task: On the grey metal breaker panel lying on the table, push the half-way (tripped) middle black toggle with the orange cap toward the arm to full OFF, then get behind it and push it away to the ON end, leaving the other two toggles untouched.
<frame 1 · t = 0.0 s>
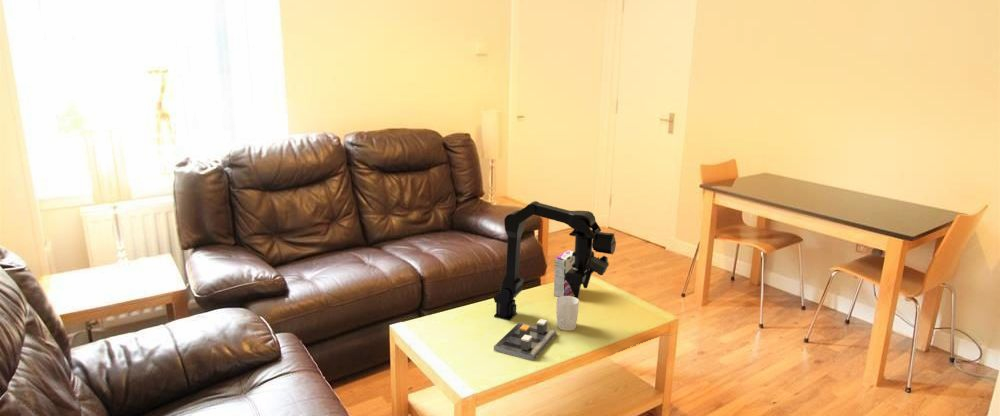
hand: (581, 292, 206), 15 cm above the table, fingers open, 9 cm apart
panel: (525, 342, 202), on the table
white cup: (566, 327, 214), on the table
breaker 1: (526, 342, 194), point 4 cm above the table, slide at 6.5 cm
candy bar box: (564, 293, 243), on the table
breaker 2: (524, 331, 201), point 4 cm above the table, slide at 3.0 cm
breaker 3: (541, 326, 205), point 4 cm above the table, slide at 6.5 cm
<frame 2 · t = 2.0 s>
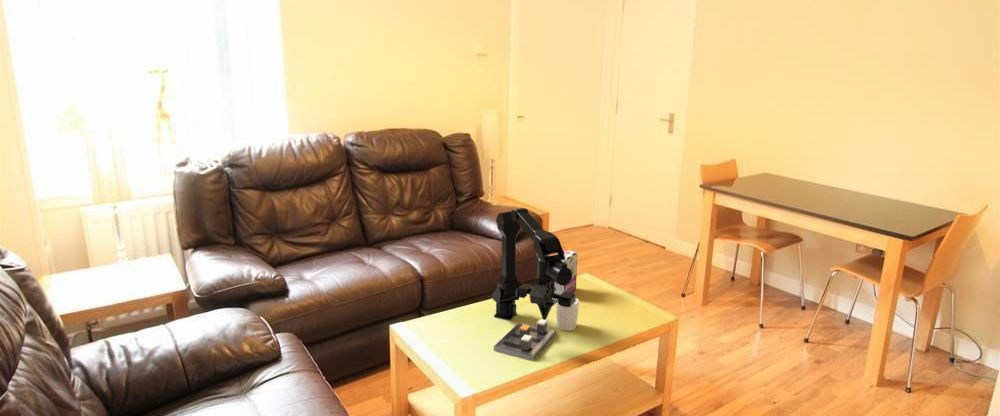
hand: (544, 319, 197), 10 cm above the table, fingers closed
nothing on the table moved.
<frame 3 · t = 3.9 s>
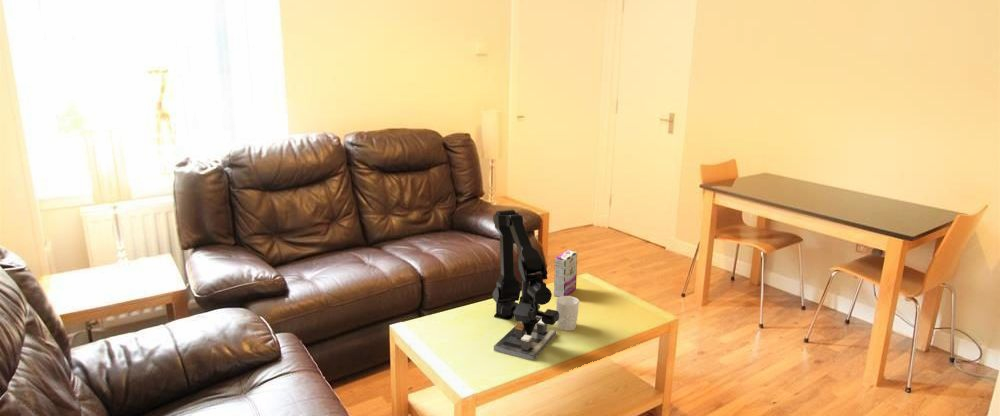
hand: (529, 336, 201), 2 cm above the table, fingers closed
breaker 2: (520, 330, 202), point 4 cm above the table, slide at 1.5 cm, touching gripper
everything else where it was.
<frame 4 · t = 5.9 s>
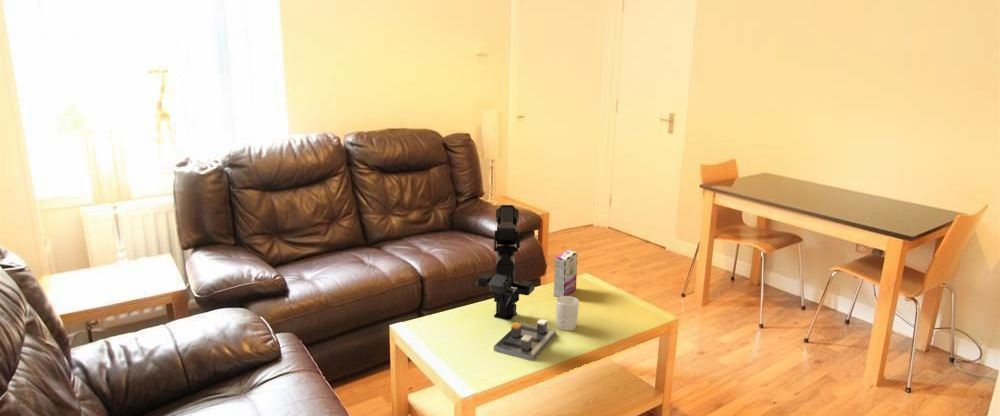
hand: (505, 307, 202), 11 cm above the table, fingers closed
breaker 2: (516, 329, 202), point 4 cm above the table, slide at 0.0 cm
everything else where it was.
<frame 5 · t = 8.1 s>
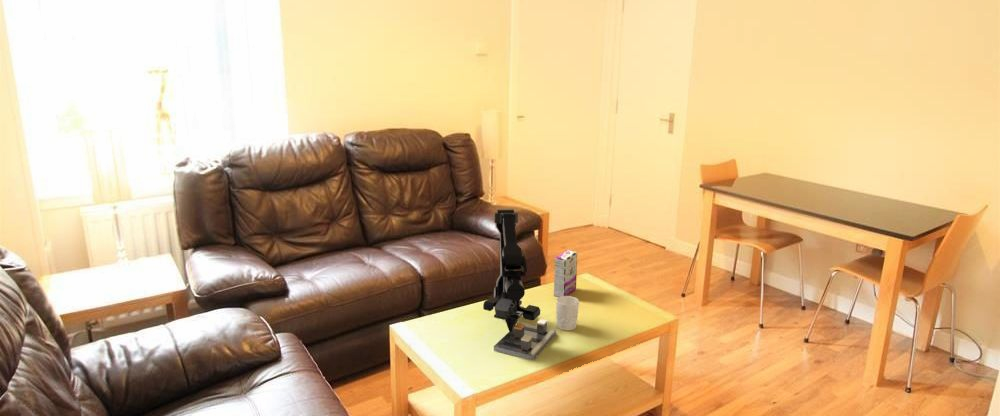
hand: (511, 331, 203), 3 cm above the table, fingers closed
breaker 2: (519, 330, 202), point 4 cm above the table, slide at 1.0 cm, touching gripper
everything else where it was.
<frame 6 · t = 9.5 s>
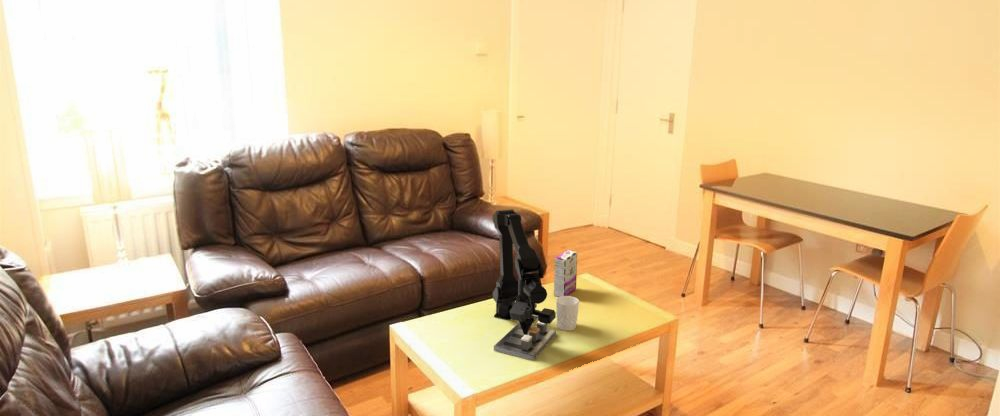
hand: (525, 335, 201), 3 cm above the table, fingers closed
breaker 2: (534, 334, 199), point 4 cm above the table, slide at 6.4 cm, touching gripper
everything else where it was.
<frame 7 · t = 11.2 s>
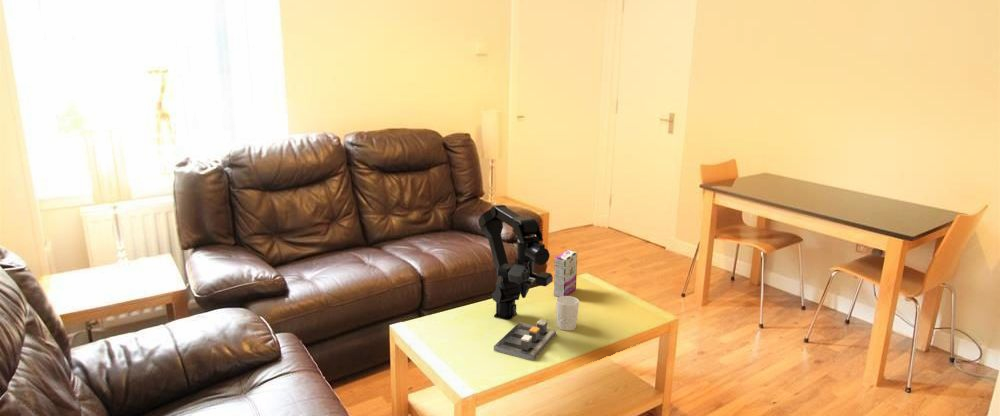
hand: (523, 297, 208), 12 cm above the table, fingers closed
breaker 2: (534, 334, 199), point 4 cm above the table, slide at 6.5 cm
everything else where it was.
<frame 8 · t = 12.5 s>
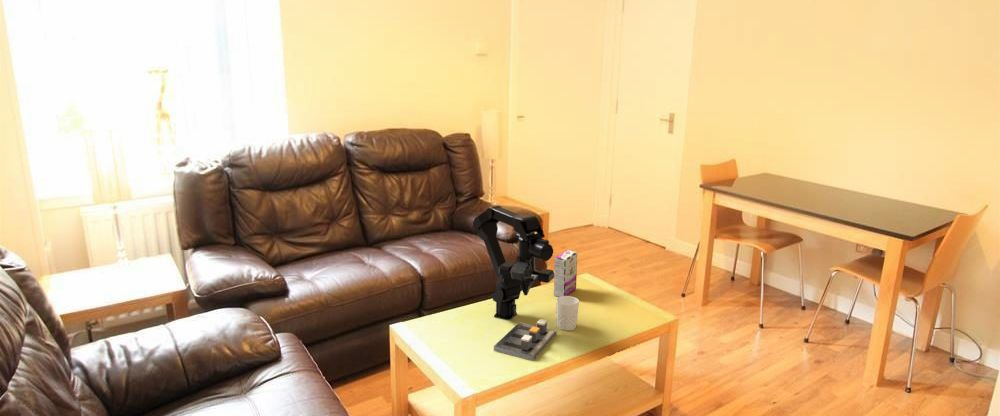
hand: (525, 295, 210), 12 cm above the table, fingers closed
nothing on the table moved.
at the end: breaker 2 slide at 6.5 cm; breaker 1 slide at 6.5 cm; breaker 3 slide at 6.5 cm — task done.
